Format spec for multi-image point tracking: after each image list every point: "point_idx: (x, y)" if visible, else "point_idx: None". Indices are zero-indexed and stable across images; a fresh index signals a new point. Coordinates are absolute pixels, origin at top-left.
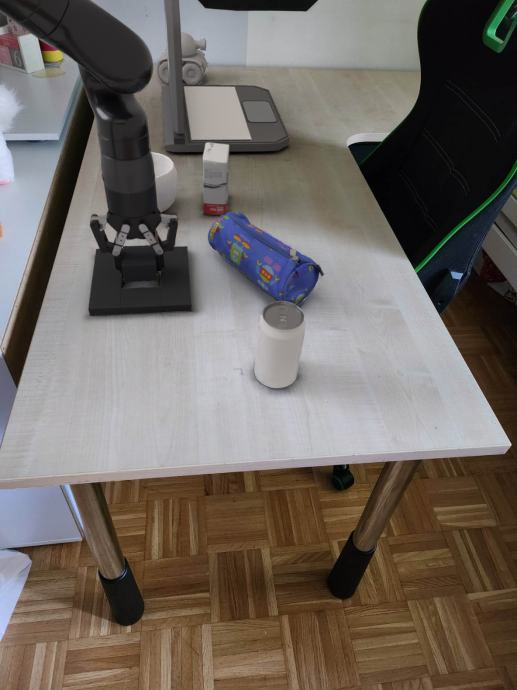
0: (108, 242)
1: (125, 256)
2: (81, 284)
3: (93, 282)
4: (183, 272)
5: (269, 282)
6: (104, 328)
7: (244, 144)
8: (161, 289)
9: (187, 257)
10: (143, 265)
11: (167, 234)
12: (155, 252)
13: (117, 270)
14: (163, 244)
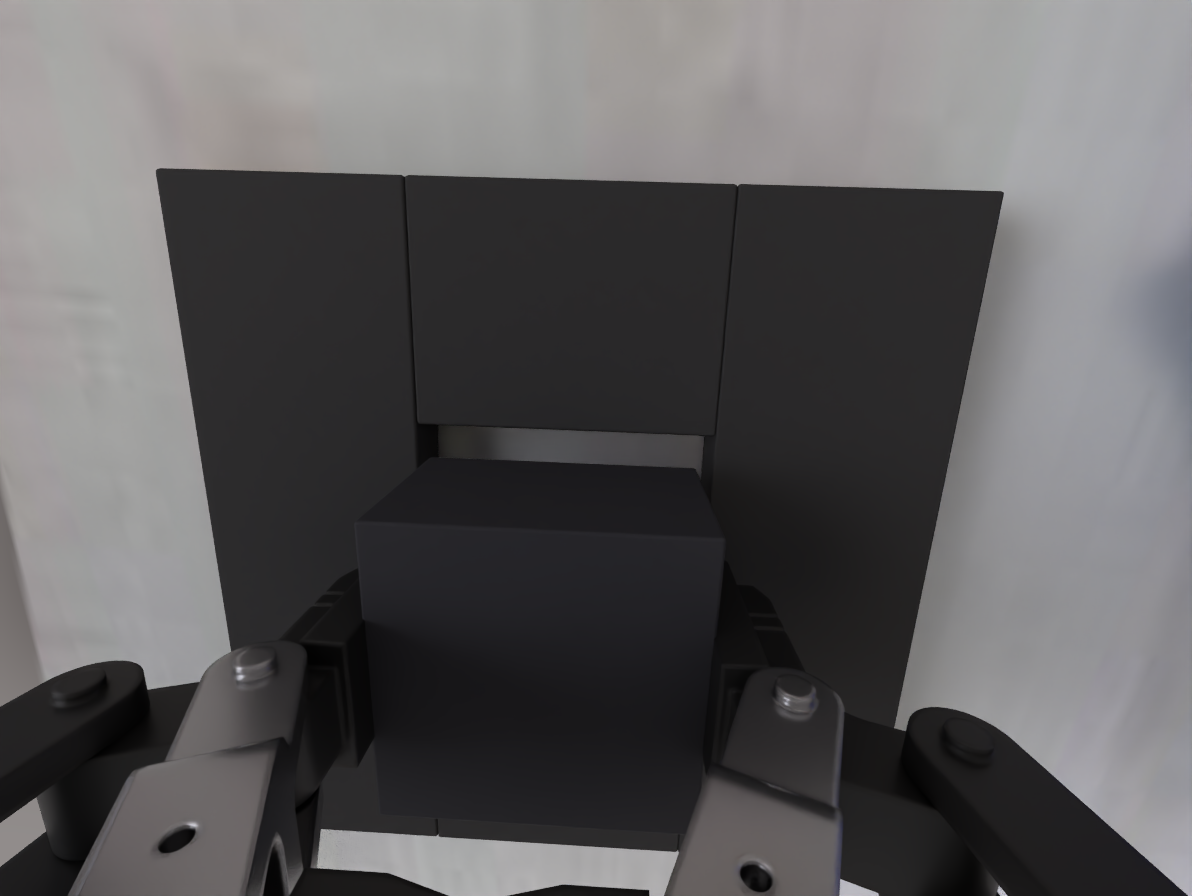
0: (114, 780)
1: (400, 699)
2: (178, 522)
3: (235, 607)
4: (881, 569)
5: None
6: (379, 863)
7: None
8: None
9: (960, 379)
10: (580, 826)
11: (1005, 885)
12: (716, 752)
13: (381, 497)
14: (857, 860)
